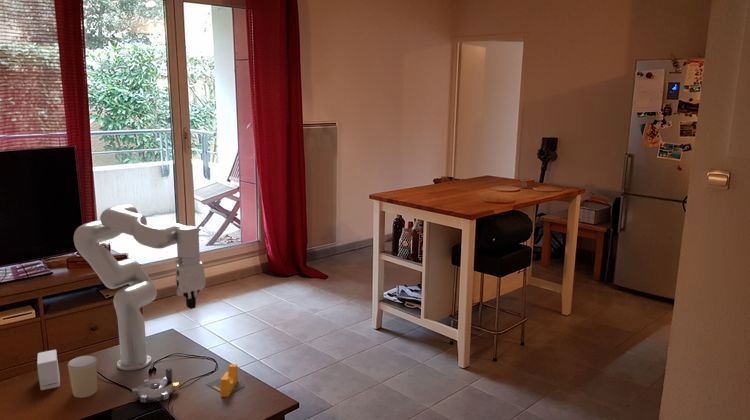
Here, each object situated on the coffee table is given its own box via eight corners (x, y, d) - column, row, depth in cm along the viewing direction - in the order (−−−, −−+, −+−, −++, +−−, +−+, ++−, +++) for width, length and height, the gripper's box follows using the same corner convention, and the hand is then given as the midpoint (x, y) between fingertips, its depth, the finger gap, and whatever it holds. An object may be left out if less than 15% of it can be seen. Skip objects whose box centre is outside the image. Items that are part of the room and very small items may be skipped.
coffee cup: (105, 388, 210) (102, 357, 208) (85, 400, 202) (82, 368, 199) (85, 384, 213) (82, 353, 211) (64, 396, 205) (61, 364, 202)
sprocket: (151, 379, 215) (149, 361, 213) (185, 384, 211) (184, 366, 210) (124, 399, 200) (122, 380, 199) (160, 405, 197) (159, 386, 196)
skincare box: (39, 378, 217) (37, 352, 215) (59, 374, 220) (57, 348, 218) (39, 390, 208) (36, 363, 206) (59, 386, 211) (57, 359, 209)
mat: (206, 384, 214) (206, 384, 214) (224, 376, 220) (224, 376, 220) (226, 395, 207) (226, 394, 206) (244, 386, 213) (244, 386, 213)
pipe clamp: (226, 380, 217) (225, 363, 216) (237, 380, 217) (237, 364, 216) (216, 396, 205) (215, 379, 204) (228, 396, 205) (227, 379, 204)
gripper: (176, 266, 205) (179, 315, 208) (212, 257, 216) (214, 304, 220) (164, 262, 209) (167, 310, 213) (200, 254, 221) (202, 300, 224)
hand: (191, 307), depth 216 cm, fingers closed
